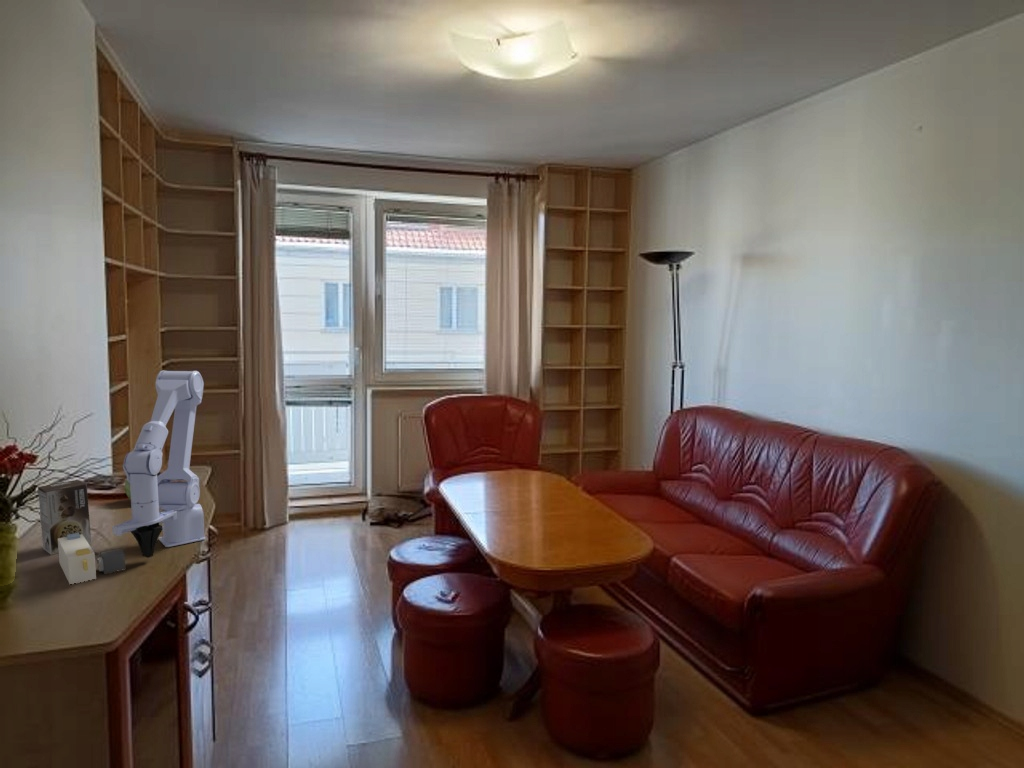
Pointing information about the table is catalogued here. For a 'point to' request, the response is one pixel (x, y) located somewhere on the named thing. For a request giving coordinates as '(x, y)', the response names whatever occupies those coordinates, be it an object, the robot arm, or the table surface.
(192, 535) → the robot arm
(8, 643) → the table surface
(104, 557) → the plug
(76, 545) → the socket box
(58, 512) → the coffee box
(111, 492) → the table surface
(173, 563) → the table surface
